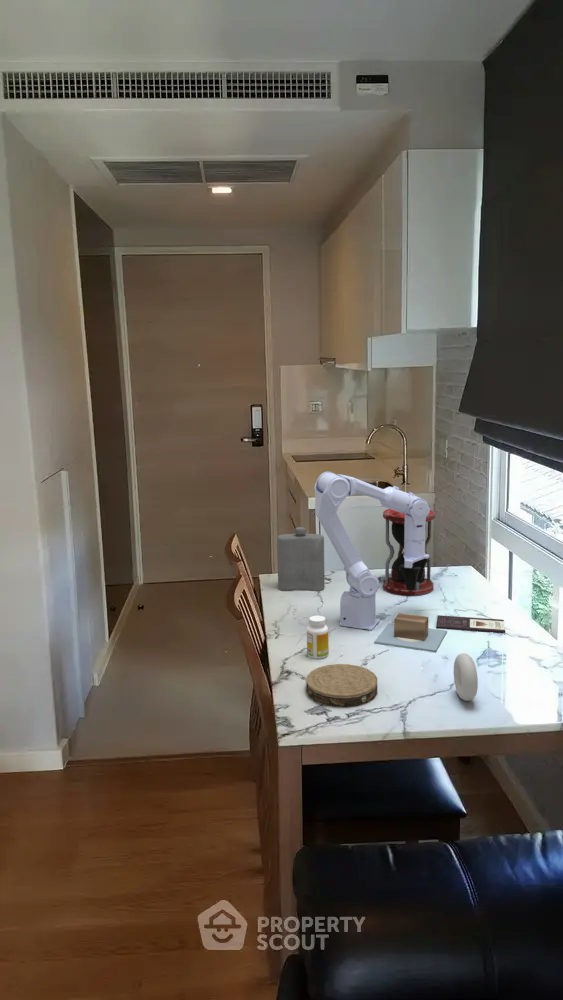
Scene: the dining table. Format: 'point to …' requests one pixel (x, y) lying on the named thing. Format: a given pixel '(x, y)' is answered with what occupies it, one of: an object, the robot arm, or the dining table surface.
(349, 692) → the wooden log slice
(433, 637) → the rubber mat
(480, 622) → the chocolate bar
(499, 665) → the dining table surface
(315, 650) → the supplement bottle
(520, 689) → the dining table surface
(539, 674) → the dining table surface
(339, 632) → the dining table surface
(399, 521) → the hourglass
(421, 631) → the walnut block
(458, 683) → the donut
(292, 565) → the flask
